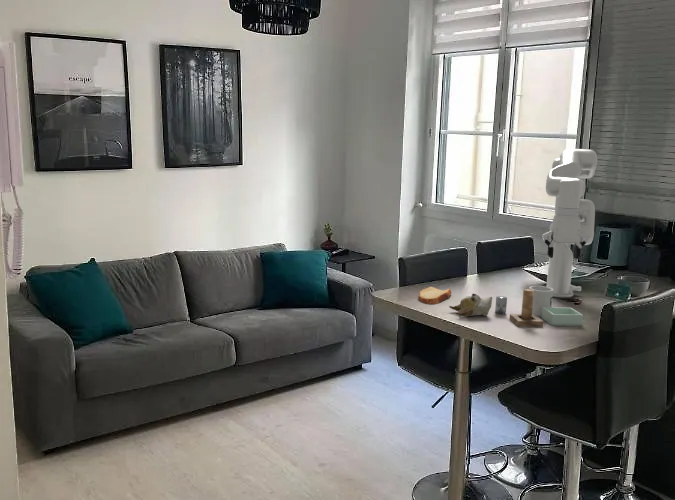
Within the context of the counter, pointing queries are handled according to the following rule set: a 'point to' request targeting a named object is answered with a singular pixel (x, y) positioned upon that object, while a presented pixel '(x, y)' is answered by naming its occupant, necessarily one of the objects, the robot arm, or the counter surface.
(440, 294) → the slice of bread
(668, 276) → the counter surface
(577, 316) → the tray
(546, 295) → the mug
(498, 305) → the bench dog
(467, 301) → the ceramic sculpture
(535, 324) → the socket block
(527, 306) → the dowel
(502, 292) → the counter surface
